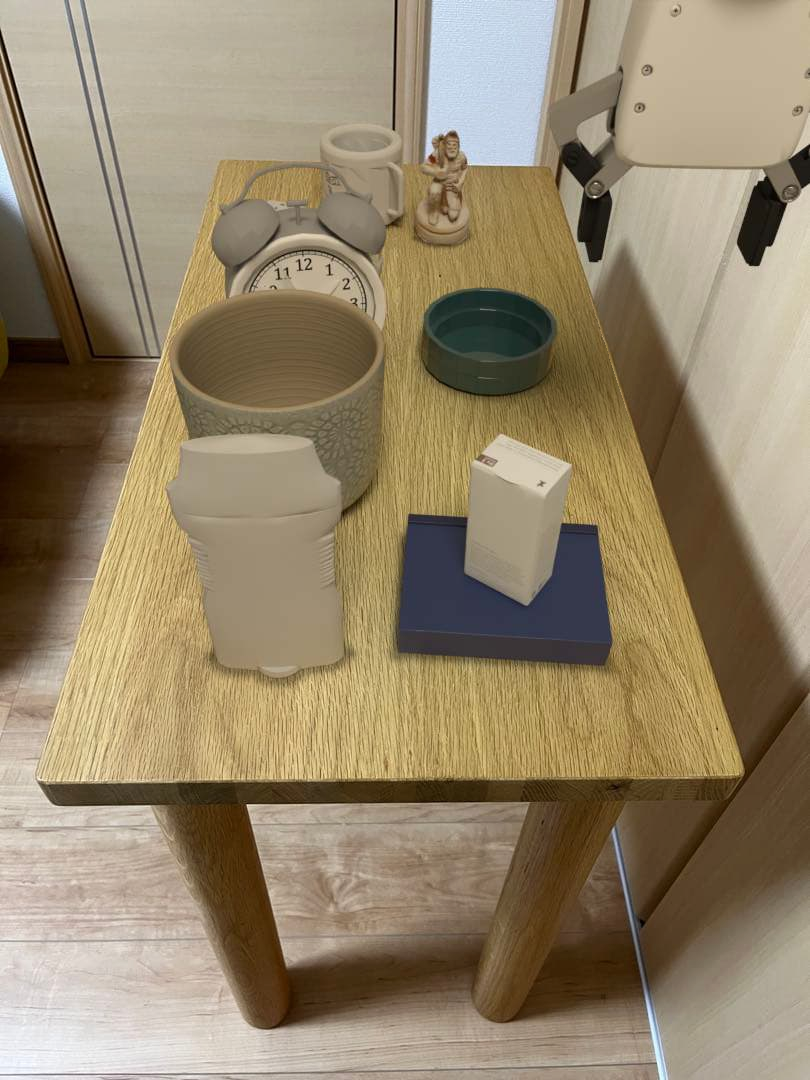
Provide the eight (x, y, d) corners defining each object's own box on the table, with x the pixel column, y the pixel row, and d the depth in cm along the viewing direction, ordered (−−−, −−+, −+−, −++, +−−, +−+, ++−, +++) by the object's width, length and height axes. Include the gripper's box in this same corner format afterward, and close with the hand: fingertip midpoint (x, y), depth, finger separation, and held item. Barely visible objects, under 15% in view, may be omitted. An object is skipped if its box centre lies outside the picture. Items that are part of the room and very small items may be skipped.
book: (590, 549, 71) (597, 524, 69) (604, 666, 63) (613, 641, 61) (407, 538, 72) (408, 513, 70) (397, 652, 64) (398, 628, 61)
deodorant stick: (349, 631, 65) (338, 411, 49) (349, 675, 62) (338, 457, 46) (213, 636, 64) (157, 415, 48) (208, 680, 62) (146, 462, 45)
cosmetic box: (553, 575, 65) (580, 461, 57) (525, 611, 63) (548, 498, 54) (487, 541, 68) (502, 427, 59) (457, 575, 65) (469, 461, 56)
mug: (307, 210, 114) (302, 135, 106) (366, 188, 119) (365, 115, 111) (371, 247, 107) (371, 169, 100) (431, 222, 112) (434, 146, 105)
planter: (174, 461, 78) (139, 320, 67) (332, 407, 84) (325, 270, 73) (244, 580, 68) (217, 438, 57) (418, 509, 74) (424, 368, 63)
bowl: (547, 325, 95) (553, 290, 92) (554, 401, 86) (561, 365, 82) (425, 319, 96) (426, 284, 92) (418, 393, 86) (420, 357, 83)
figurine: (432, 262, 108) (443, 167, 95) (403, 225, 111) (410, 128, 97) (478, 242, 110) (495, 147, 97) (448, 207, 113) (461, 109, 99)
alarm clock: (235, 403, 84) (201, 191, 68) (230, 354, 90) (197, 149, 74) (392, 385, 87) (395, 177, 71) (377, 339, 93) (376, 137, 76)
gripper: (910, -98, 41) (791, 229, 54) (565, -103, 42) (527, 223, 54) (975, -64, 36) (827, 288, 49) (581, -70, 37) (534, 281, 49)
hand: (669, 253), depth 51 cm, fingers open, 9 cm apart
